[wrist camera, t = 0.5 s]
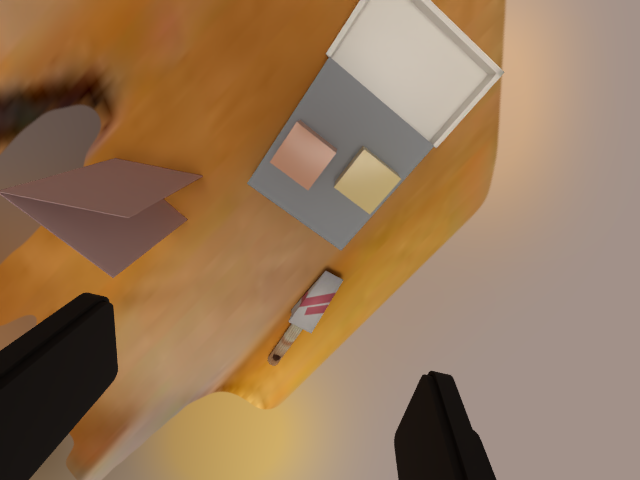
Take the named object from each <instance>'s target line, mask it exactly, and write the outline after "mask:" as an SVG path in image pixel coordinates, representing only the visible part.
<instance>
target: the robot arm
mask: <svg viewBox="0 0 640 480" xmlns="http://www.w3.org/2000/svg"><path fill="white" fill-rule="evenodd" d="M117 372H118V363H117V350H116V336H115V323H114V310H113V305H112V304H111V303H109V299H108V298H107V297H104V296H100V295H95V294H91V293H83V294H81V295H79V296H78V297H76V298H75V299H73V300H72V301H71V302H69V303H68V304H66V305H65V306H63V307H62V308H61V309H59V310H58V311H56V312H55V313H54V314H52V315H51V316H49V317H48V318H46V319H45V320H44V321H42V322H41V323H39V324H38V325H36V326H35V327H34V328H32V329H31V330H29V331H28V332H27V333H25V334H24V335H22V336H21V337H19V338H18V339H17V340H15V341H14V342H12V343H11V344H9V345H8V346H7V347H5V348H4V349H2V350H1V351H0V480H29V479H30V478H31V477H32V475H33V474H34V473H35V472H36V471H37V470H38V468H39V467H40V466H41V465H42V464H43V463H44V461H45V460H46V459H47V458H48V457H49V455H50V454H51V453H52V452H53V451H54V450H55V449H56V447H57V446H58V445H59V444H60V443H61V442H62V440H63V439H64V438H65V437H66V436H67V435H68V433H69V432H70V431H71V430H72V429H73V428H74V426H75V425H76V424H77V423H78V422H79V421H80V419H81V418H82V417H83V416H84V415H85V414H86V412H87V411H88V410H89V409H90V408H91V407H92V405H93V404H94V403H95V402H96V401H97V400H98V398H99V397H100V396H101V395H102V394H103V393H104V392H105V390H106V389H107V388H108V387H109V386H110V385H111V383H112V382H113V381H114V379H115V377H116V375H117ZM394 446H395V454H396V463H397V470H398V478H399V480H496V477H495V475H494V472H493V470H492V467H491V465H490V462H489V459H488V457H487V454H486V452H485V449H484V447H483V444H482V442H481V440H480V437H479V435H478V434H477V433H476V432H475V431H474V430H473V429H472V427H471V424H470V421H469V419H468V416H467V414H466V411H465V408H464V405H463V403H462V400H461V397H460V395H459V392H458V389H457V387H456V384H455V382H454V379H453V377H452V376H451V375H448V374H443V373H438V372H435V371H430V372H429V373H428V375H422V377H421V379H420V381H419V383H418V385H417V388H416V390H415V392H414V394H413V396H412V399H411V401H410V403H409V405H408V407H407V409H406V411H405V413H404V416H403V418H402V420H401V422H400V424H399V426H398V429H397V431H396V433H395V439H394Z"/></svg>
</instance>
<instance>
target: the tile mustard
mask: <svg viewBox="0 0 640 480" xmlns="http://www.w3.org/2000/svg"><path fill="white" fill-rule="evenodd" d="M400 180H401V178H400V176H399V174H398V173H397V172H395V171H394V170H393V169H392V168H390V167H389V166H388V165H387V164H385V163H384V162H383V161H382V160H380V159H379V158H378V157H377V156H376V155H374V154H373V153H372V152H371V151H369V150H368V149H367V148H366V147H364V146H362V148H361V149H360V150H359V151H358V153H357V154H356V155H355V157H354V158H353V159H352V160H351V162H350V163H349V164H348V166H347V167H346V168H345V169H344V171H343V172H342V173H341V174H340V176H339V177H338V178H337V180H336V181H335V184H334V188H335V189H337V190H338V191H339V192H341V193H342V194H343V195H345V196H346V197H347V198H349V199H350V200H351V201H353V202H354V203H355V204H357V205H358V206H359V207H361V208H362V209H363V210H364V211H366V212H367V213H368V214H371V213H372V212H373V211H374V210H375V208H376V207H377V206H378V205H379V204H380V203H381V202H382V201H383V199H384V198H385V197H386V196H387V195H388V194H389V193H390V191H391V190H392V189H393V188H394V187H395V186H396V185H397V184H398V182H399V181H400Z"/></svg>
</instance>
